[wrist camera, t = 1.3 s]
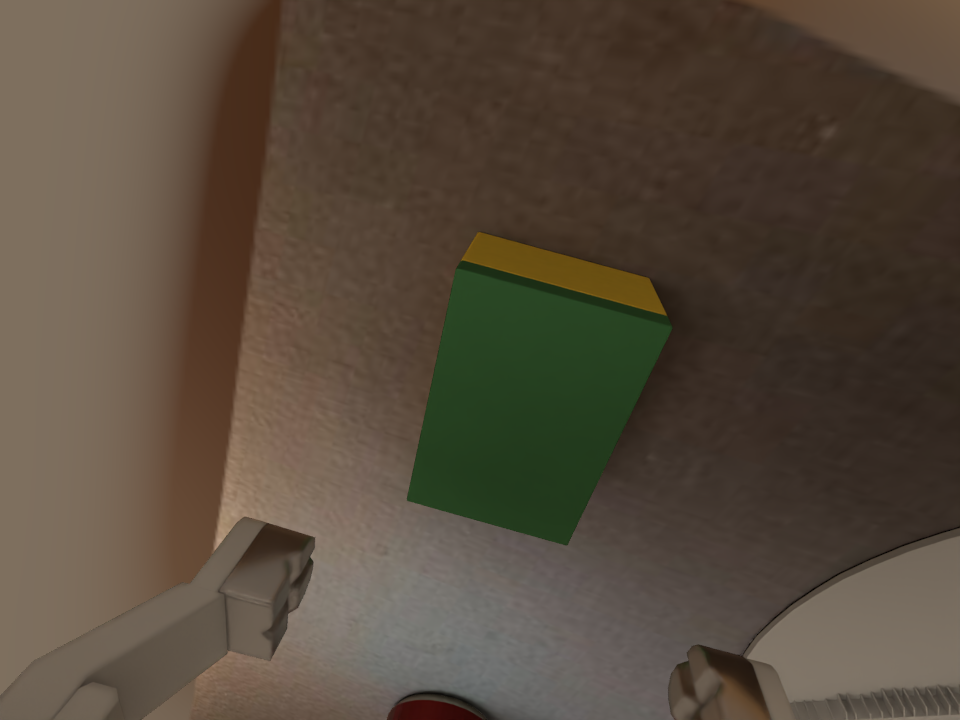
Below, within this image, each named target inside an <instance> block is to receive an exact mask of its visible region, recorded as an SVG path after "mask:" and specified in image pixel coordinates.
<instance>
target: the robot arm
mask: <svg viewBox="0 0 960 720" xmlns="http://www.w3.org/2000/svg"><path fill="white" fill-rule="evenodd" d="M314 548H315V537H312V536H309V535H305V534H302V533H299V532H295V531H292V530H289V529H286V528H282V527H279V526H276V525H272V524H269V523H266V522H263V521H259V520H256V519H252V518H249V517H244V518H242V519H241V520H240V521H238V522H237V523H236V524H235V526H234V527H233V528H232V530H231V531H230V532H229V534H228V535H227V536H226V537H225V539H224V540H223V541H222V543H221V544H220V545H219V546H218V548H217V549H216V550H215V552H214V553H213V554H212V556H211V557H210V558H209V559H208V561H207V562H206V563H205V565H204V566H203V567H202V569H201V570H200V571H199V572H198V574H197V575H196V576H195V578H194V579H193V580H192V581H191V583H190V584H188V583H184V582H182V583H180V584H178V585H176V586H174V587H172V588H170V589H168V590H167V591H165V592H163V593H161V594H159V595H157V596H156V597H153V598H151V599H149V600H148V601H146V602H144V603H142V604H140V605H138V606H137V607H134V608H132V609H131V610H129V611H127V612H125V613H123V614H121V615H119V616H117V617H116V618H114V619H112V620H110V621H108V622H106V623H104V624H102V625H100V626H98V627H97V628H95V629H93V630H91V631H89V632H87V633H85V634H83V635H81V636H80V637H78V638H76V639H74V640H72V641H70V642H68V643H66V644H64V645H63V646H61V647H59V648H57V649H55V650H53V651H51V652H49V653H48V654H46V655H44V656H42V657H40V658H38V659H36V660H34V661H33V662H32V663H31V664H30V665H29V666H28V667H27V668H26V669H25V670H24V671H23V672H22V673H21V674H20V675H19V676H18V678H17V679H16V680H15V681H14V682H13V683H12V684H11V685H10V686H9V687H8V688H7V689H6V690H5V691H4V692H3V693H2V694H1V695H0V720H142V719H143V718H144V717H145V716H147V715H148V714H149V713H151V712H152V711H153V710H155V709H156V708H157V707H158V706H160V705H161V704H162V703H164V702H165V701H166V700H168V699H169V698H170V697H171V696H173V695H174V694H175V693H177V692H178V691H179V690H180V689H182V688H183V687H184V686H186V685H187V684H188V683H190V682H191V681H192V680H194V679H195V678H196V677H197V676H199V675H200V674H201V673H203V672H204V671H205V670H207V669H208V668H209V667H210V666H212V665H213V664H214V663H216V662H217V661H218V660H220V659H221V658H222V657H224V656H225V655H226V654H227V650H228V651H232V652H236V653H240V654H244V655H248V656H252V657H256V658H260V659H264V660H268V661H270V660H271V658H272V656H273V655H274V653H275V651H276V649H277V647H278V645H279V643H280V641H281V639H282V637H283V635H284V634H285V632H286V630H287V623H288V614H289V613H290V612H292V611H293V610H295V609H297V608H298V606H299V604H300V602H301V601H302V599H303V597H304V595H305V592H306V589H307V587H308V584H309V582H310V579H311V574H312V570H313V560H312V559H311V558H310V556H311V554H312V552H313V550H314ZM687 657H688V661H687V662H684V663H681V664H678V665H677V666H676V667H675V669H674V670H673V672H672V673H671V676H670V680H669V685H668V701H669V706H670V712H671V715H672V716H673V718H674V719H675V720H796V719H795V716H794V713H793V711H792V708H791V706H790V703H789V701H788V698H787V696H786V693H785V691H784V688H783V685H782V683H781V680H780V678H779V675H778V673H777V671H776V670H775V669H774V668H773V666H772V665H769V664H767V663H763V662H759V661H755V660H751V659H747V658H744V657H743V656H740V655H736V654H732V653H729V652H725V651H721V650H717V649H713V648H710V647H706V646H702V645H694V646H692V647H691V648H690V649H689V650H688V652H687Z"/></svg>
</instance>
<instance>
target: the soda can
mask: <svg viewBox="0 0 960 720" xmlns="http://www.w3.org/2000/svg"><path fill="white" fill-rule="evenodd" d="M387 720H487V719H486V718H485V716H484V715H483V714H482V713H481V712H480V711H479V710H477V709H476V708H474V707H473V706H471V705H469V704H467V703H465V702H463V701H461V700H458V699H456V698H452V697H448V696H444V695H438V694H418V695H413V696H410V697H407V698H405V699H403V700H402V701H401V702H399V703H398V704H397V705H396V706H394V707H393V708H392V709H391V711H390V713H389V714H388V717H387Z"/></svg>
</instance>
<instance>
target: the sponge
mask: <svg viewBox="0 0 960 720" xmlns="http://www.w3.org/2000/svg"><path fill="white" fill-rule="evenodd" d="M671 330H672V325H671V323H670V321H669V319H668V317H667V314H666V312H665V310H664V308H663V306H662V304H661V302H660V300H659V298H658V296H657V294H656V292H655V290H654V287H653V285H652V283H651V281H650V279H649V278H647V277H643V276H639V275H636V274H632V273H628V272H625V271H621V270H617V269H614V268H610V267H606V266H603V265H599V264H595V263H592V262H588V261H584V260H580V259H577V258H573V257H569V256H566V255H562V254H558V253H555V252H551V251H547V250H544V249H540V248H536V247H533V246H529V245H525V244H522V243H518V242H514V241H511V240H507V239H503V238H499V237H496V236H492V235H488V234H485V233H481V232H478V233H477V235H476V236H475V238H474V240H473V241H472V243H471V245H470V246H469V248H468V250H467V251H466V253H465V255H464V256H463V258H462V260H461V261H460V263H459V265H458V266H457V268H456V271H455V275H454V280H453V285H452V290H451V294H450V299H449V304H448V308H447V313H446V318H445V322H444V327H443V332H442V336H441V341H440V346H439V351H438V355H437V360H436V365H435V369H434V374H433V379H432V383H431V388H430V393H429V398H428V402H427V407H426V412H425V416H424V421H423V426H422V430H421V435H420V440H419V445H418V449H417V454H416V459H415V463H414V468H413V473H412V477H411V482H410V487H409V492H408V496H407V501H410V502H414V503H417V504H421V505H424V506H428V507H431V508H435V509H438V510H442V511H446V512H449V513H453V514H456V515H460V516H463V517H467V518H470V519H474V520H478V521H481V522H485V523H488V524H492V525H495V526H499V527H502V528H506V529H510V530H513V531H517V532H520V533H524V534H527V535H531V536H535V537H538V538H542V539H545V540H549V541H552V542H556V543H559V544H563V545H568V543H569V541H570V539H571V537H572V534H573V532H574V530H575V528H576V526H577V524H578V522H579V520H580V518H581V516H582V514H583V512H584V510H585V508H586V506H587V504H588V501H589V499H590V497H591V495H592V493H593V491H594V489H595V487H596V485H597V483H598V481H599V479H600V477H601V475H602V473H603V471H604V468H605V466H606V464H607V462H608V460H609V458H610V456H611V454H612V452H613V450H614V448H615V446H616V444H617V442H618V440H619V438H620V435H621V433H622V431H623V429H624V427H625V425H626V423H627V421H628V419H629V417H630V415H631V413H632V411H633V409H634V407H635V405H636V402H637V400H638V398H639V396H640V394H641V392H642V390H643V388H644V386H645V384H646V382H647V380H648V378H649V376H650V374H651V372H652V369H653V367H654V365H655V363H656V361H657V359H658V357H659V355H660V353H661V351H662V349H663V347H664V345H665V343H666V341H667V339H668V336H669V334H670V332H671Z"/></svg>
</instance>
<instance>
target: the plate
mask: <svg viewBox="0 0 960 720" xmlns="http://www.w3.org/2000/svg"><path fill="white" fill-rule="evenodd" d="M743 657H744V658H747V659H751V660H755V661H759V662H763V663H767V664H769V665H772V666H773V668H774V669H775V670H776V671H777V673H778V675H779V678H780V680H781V683H782V685H783V688H784V691H785V693H786V696H787V698H788V701H789V703H790V706H791V708H792V711H793V713H794V716H795V719H796V720H960V528H958V529H955V530H951V531H948V532H944V533H941V534H938V535H935V536H932V537H929V538H926V539H923V540H920V541H917V542H914V543H911V544H908V545H905V546H902V547H900V548H898V549H895V550H893V551H890V552H888V553H886V554H883V555H881V556H878V557H876V558H874V559H871V560H869V561H867V562H865V563H863V564H861V565H858V566H856V567H854V568H852V569H850V570H848V571H846V572H844V573H841V574H839V575H838V576H836V577H834V578H833V579H831V580H829V581H828V582H826V583H825V584H823V585H821V586H820V587H818V588H816V589H815V590H813V591H812V592H810V593H809V594H807V595H806V596H804V597H803V598H801V599H800V600H798V601H797V602H796V603H794V604H793V605H791V606H790V607H789V608H788V609H786V610H785V611H784V612H783V613H782V614H780V615H779V616H778V617H777V618H775V619H774V620H773V621H772V622H771V623H770V624H769V625H768V626H767V627H766V628H765V629H764V630H763V631H761V632H760V633H759V634H758V635H757V636H756V638H755V639H754V640H753V642H752V643H751V644H750V646H749V647H748V649H747V650H746V651H745V653H744V655H743Z"/></svg>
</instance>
